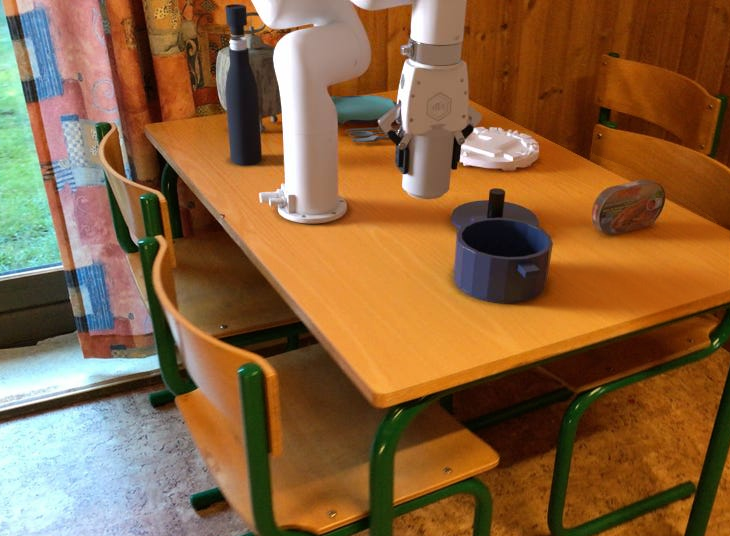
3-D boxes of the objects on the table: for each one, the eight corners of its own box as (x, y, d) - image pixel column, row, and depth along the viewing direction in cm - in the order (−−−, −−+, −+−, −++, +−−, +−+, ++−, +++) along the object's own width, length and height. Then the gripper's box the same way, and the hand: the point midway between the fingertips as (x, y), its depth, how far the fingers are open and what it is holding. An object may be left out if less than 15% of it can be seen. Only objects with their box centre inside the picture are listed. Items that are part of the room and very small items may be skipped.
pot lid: (471, 247, 144) (474, 213, 140) (438, 211, 156) (440, 179, 152) (553, 236, 148) (558, 203, 144) (514, 202, 160) (518, 171, 157)
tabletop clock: (278, 119, 197) (273, 5, 183) (296, 130, 191) (292, 13, 177) (220, 128, 190) (210, 11, 176) (236, 141, 184) (227, 20, 170)
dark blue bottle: (225, 162, 173) (211, 7, 157) (240, 152, 178) (229, 1, 161) (252, 167, 171) (241, 11, 155) (267, 157, 176) (259, 4, 160)
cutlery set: (389, 101, 211) (389, 91, 209) (425, 141, 187) (425, 131, 186) (311, 105, 206) (310, 96, 205) (337, 147, 182) (337, 137, 181)
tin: (596, 239, 147) (604, 194, 143) (584, 232, 150) (592, 187, 145) (661, 224, 153) (671, 180, 149) (649, 217, 156) (659, 174, 151)
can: (445, 204, 130) (452, 128, 123) (397, 198, 131) (401, 122, 124) (451, 185, 136) (458, 111, 129) (406, 180, 137) (410, 106, 130)
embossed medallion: (427, 147, 184) (428, 134, 182) (501, 134, 192) (502, 121, 190) (480, 178, 170) (481, 164, 168) (557, 163, 178) (559, 149, 176)
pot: (482, 318, 124) (487, 273, 120) (434, 258, 140) (436, 216, 136) (570, 304, 128) (578, 260, 124) (514, 247, 144) (518, 207, 140)
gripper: (386, 62, 116) (381, 183, 126) (501, 56, 121) (488, 173, 131) (370, 47, 121) (366, 164, 132) (480, 42, 126) (469, 155, 136)
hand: (427, 168), depth 131 cm, fingers closed on can, 7 cm apart
